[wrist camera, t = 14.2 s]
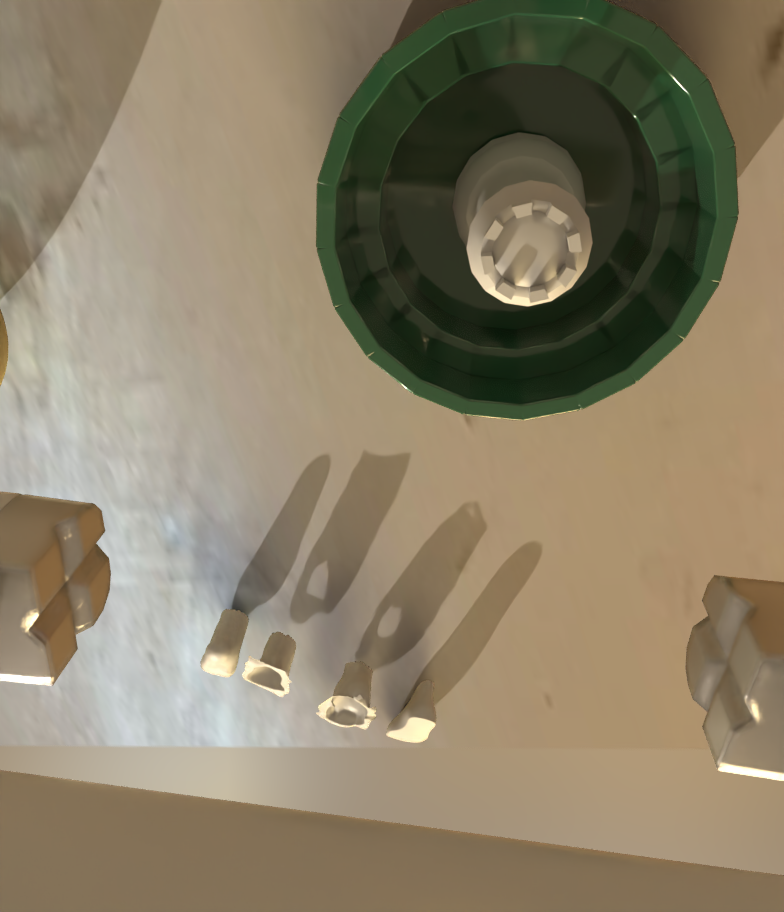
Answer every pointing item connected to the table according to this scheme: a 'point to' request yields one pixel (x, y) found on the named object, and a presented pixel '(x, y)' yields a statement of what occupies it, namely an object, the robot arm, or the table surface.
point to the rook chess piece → (523, 219)
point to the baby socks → (348, 694)
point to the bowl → (605, 187)
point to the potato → (3, 348)
